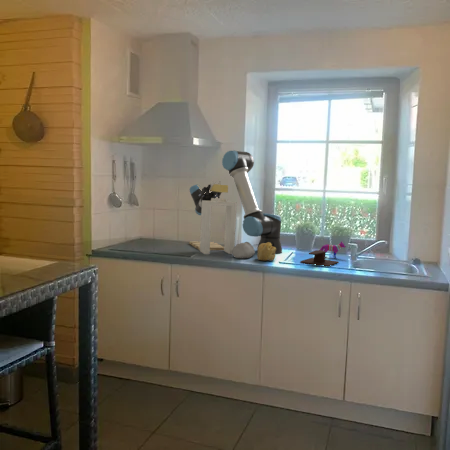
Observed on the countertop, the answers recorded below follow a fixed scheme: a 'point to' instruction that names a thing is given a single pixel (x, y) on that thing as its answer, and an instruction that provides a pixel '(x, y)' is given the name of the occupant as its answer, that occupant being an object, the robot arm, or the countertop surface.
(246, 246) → the decorative stone
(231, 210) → the bridge
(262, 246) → the stone
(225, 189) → the bar
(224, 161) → the robot arm
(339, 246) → the toy dog
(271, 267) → the countertop surface
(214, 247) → the board
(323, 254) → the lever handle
